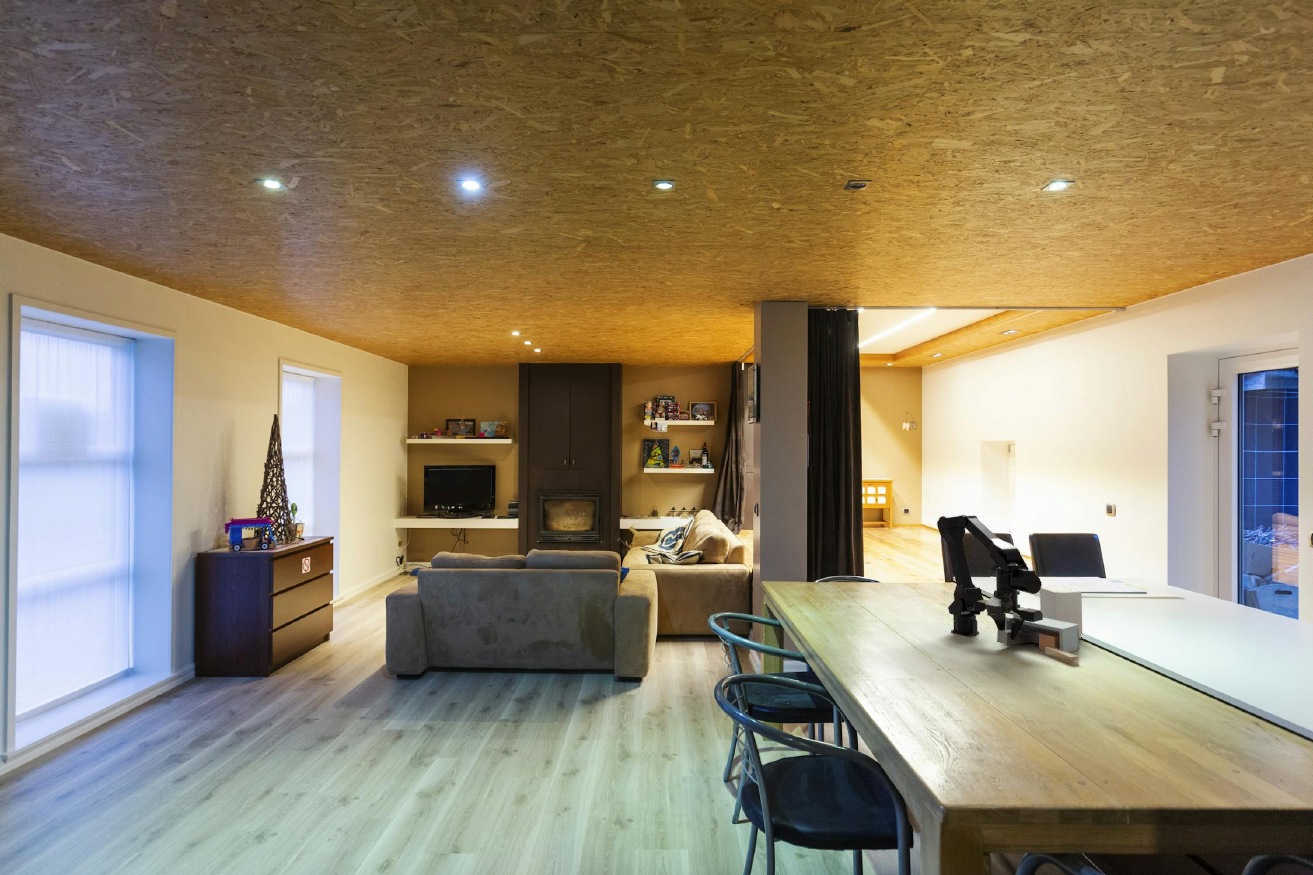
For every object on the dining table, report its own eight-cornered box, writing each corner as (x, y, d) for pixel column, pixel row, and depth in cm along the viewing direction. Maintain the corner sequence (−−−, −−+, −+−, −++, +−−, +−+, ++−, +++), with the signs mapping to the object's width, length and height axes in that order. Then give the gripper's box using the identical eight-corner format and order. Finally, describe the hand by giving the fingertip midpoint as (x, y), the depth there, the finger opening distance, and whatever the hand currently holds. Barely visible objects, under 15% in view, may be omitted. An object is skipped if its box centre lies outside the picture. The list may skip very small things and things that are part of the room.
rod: (1071, 665, 186) (1070, 656, 186) (1045, 655, 196) (1045, 646, 196) (1078, 665, 187) (1078, 656, 187) (1052, 654, 196) (1052, 646, 197)
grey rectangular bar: (1013, 645, 198) (1013, 633, 198) (990, 640, 204) (991, 628, 204) (1043, 643, 207) (1044, 632, 207) (1021, 638, 213) (1021, 627, 213)
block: (1039, 648, 202) (1039, 633, 202) (1046, 646, 205) (1046, 631, 205) (1054, 652, 198) (1054, 637, 199) (1062, 649, 201) (1061, 634, 201)
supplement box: (1083, 638, 212) (1082, 592, 213) (1055, 638, 212) (1054, 592, 213) (1066, 631, 221) (1065, 586, 222) (1039, 631, 221) (1039, 586, 222)
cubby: (1003, 640, 211) (1003, 616, 211) (1020, 635, 216) (1019, 612, 216) (1063, 654, 196) (1062, 628, 196) (1079, 649, 201) (1078, 624, 201)
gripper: (963, 585, 206) (964, 635, 206) (1023, 596, 191) (1024, 650, 190) (983, 581, 212) (984, 630, 212) (1043, 591, 197) (1044, 644, 196)
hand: (1007, 638), depth 202 cm, fingers closed on grey rectangular bar, 3 cm apart
